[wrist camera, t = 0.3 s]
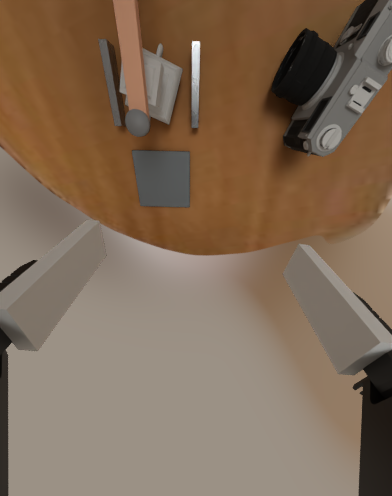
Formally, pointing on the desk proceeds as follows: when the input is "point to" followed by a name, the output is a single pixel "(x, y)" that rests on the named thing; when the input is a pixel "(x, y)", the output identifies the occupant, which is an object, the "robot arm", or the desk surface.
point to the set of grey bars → (114, 83)
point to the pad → (163, 177)
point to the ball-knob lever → (133, 66)
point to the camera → (335, 78)
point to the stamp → (158, 84)
